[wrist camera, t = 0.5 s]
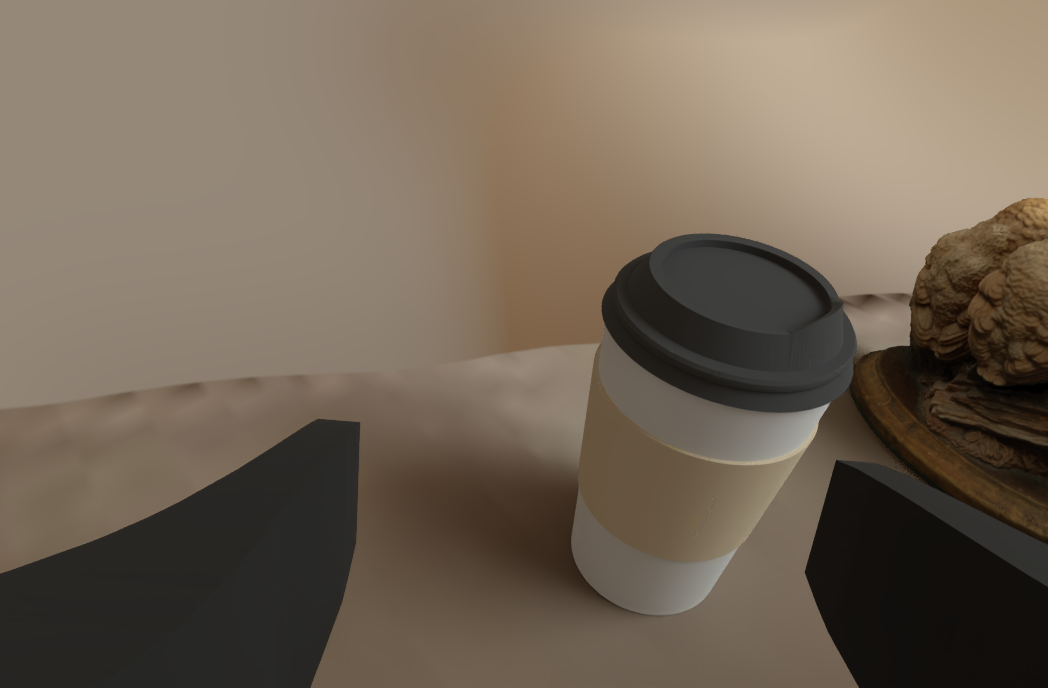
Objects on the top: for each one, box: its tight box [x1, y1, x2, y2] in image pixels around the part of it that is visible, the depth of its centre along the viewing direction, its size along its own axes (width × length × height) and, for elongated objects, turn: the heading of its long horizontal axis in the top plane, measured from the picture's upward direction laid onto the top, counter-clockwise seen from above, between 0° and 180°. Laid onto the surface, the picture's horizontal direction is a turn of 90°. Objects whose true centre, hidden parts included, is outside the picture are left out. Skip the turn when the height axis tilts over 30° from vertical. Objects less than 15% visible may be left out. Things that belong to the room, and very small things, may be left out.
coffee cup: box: [571, 234, 857, 616], centre depth 29 cm, size 9×9×15 cm
